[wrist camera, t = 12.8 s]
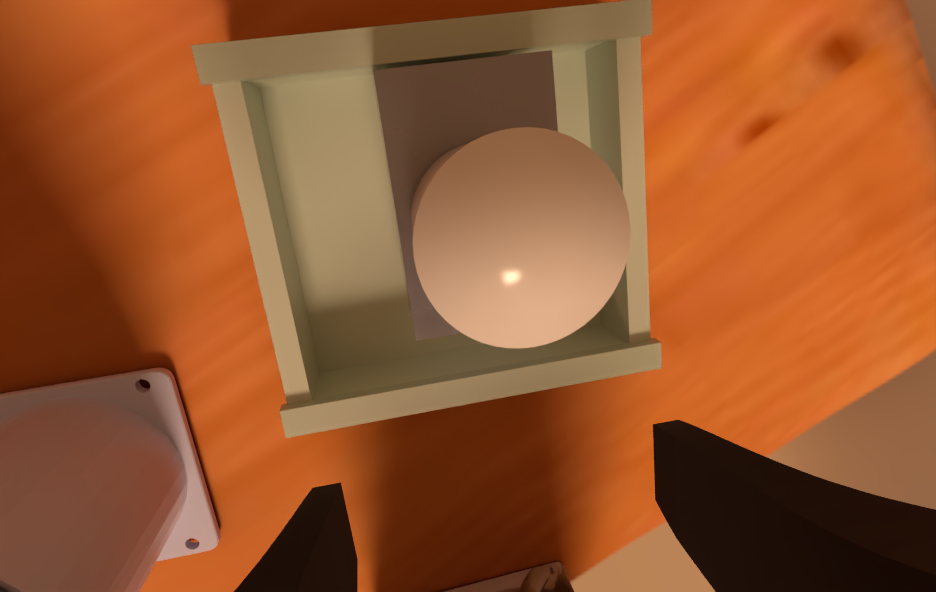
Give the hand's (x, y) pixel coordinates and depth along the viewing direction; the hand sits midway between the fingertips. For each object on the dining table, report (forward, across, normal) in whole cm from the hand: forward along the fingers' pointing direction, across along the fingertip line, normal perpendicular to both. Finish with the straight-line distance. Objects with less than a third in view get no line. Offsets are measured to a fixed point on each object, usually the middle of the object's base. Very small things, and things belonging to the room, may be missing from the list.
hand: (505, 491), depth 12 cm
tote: (+10, 0, -5) cm, 12 cm away
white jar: (+5, -1, -5) cm, 7 cm away
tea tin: (+10, -1, -6) cm, 12 cm away
